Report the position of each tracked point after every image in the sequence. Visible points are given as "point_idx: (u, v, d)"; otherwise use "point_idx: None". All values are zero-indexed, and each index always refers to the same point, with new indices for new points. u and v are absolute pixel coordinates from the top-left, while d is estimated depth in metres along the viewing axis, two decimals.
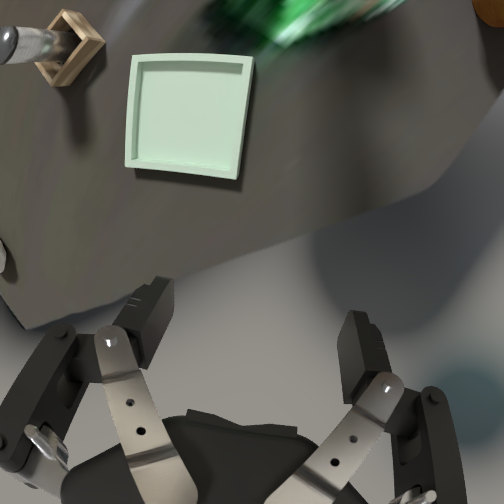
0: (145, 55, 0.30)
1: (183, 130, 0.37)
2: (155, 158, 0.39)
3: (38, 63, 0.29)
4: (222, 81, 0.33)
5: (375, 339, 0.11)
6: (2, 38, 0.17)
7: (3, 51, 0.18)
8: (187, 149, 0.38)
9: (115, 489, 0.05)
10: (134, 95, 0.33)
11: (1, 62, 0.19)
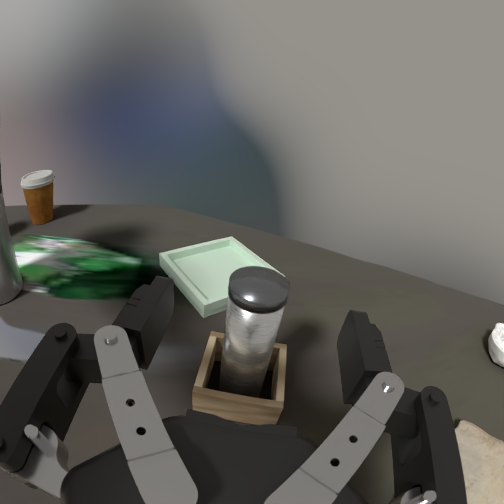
0: (198, 297, 0.43)
1: (231, 268, 0.54)
2: None
3: (280, 381, 0.30)
4: (185, 265, 0.53)
5: (375, 339, 0.11)
6: (248, 282, 0.25)
7: (260, 272, 0.27)
8: (240, 262, 0.56)
9: (115, 489, 0.05)
10: None
11: None
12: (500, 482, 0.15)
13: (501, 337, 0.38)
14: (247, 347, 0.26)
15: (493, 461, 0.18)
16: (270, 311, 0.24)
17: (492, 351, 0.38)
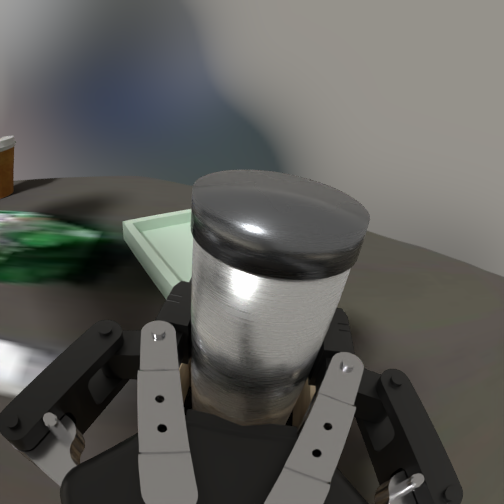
0: (167, 279, 0.27)
1: None
2: None
3: None
4: (157, 238, 0.36)
5: (340, 322, 0.12)
6: (251, 192, 0.08)
7: (282, 179, 0.10)
8: None
9: (115, 489, 0.05)
10: None
11: None
12: None
13: None
14: (248, 382, 0.09)
15: None
16: (324, 272, 0.07)
17: None
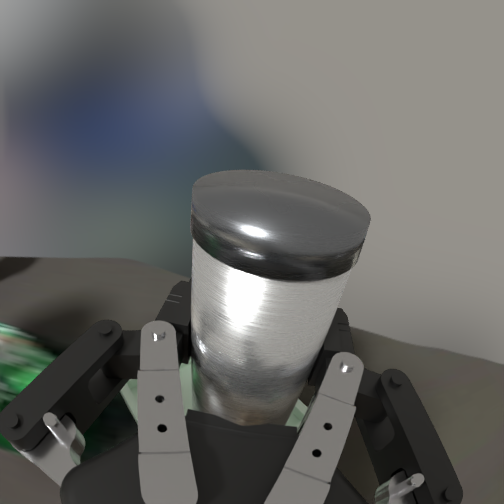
0: None
1: None
2: None
3: None
4: None
5: (340, 322, 0.12)
6: (252, 192, 0.08)
7: (282, 179, 0.10)
8: None
9: (115, 489, 0.05)
10: None
11: None
12: None
13: None
14: (248, 383, 0.09)
15: None
16: (324, 273, 0.07)
17: None
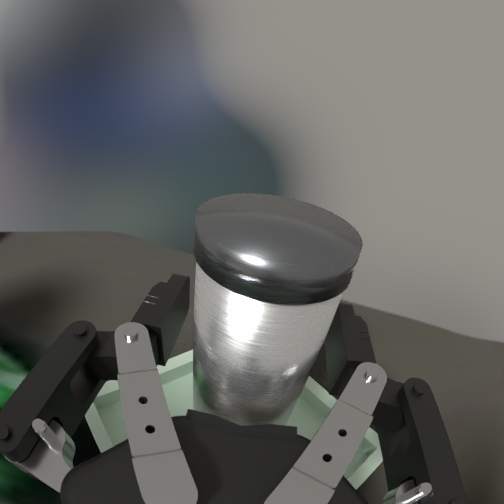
0: None
1: None
2: None
3: None
4: None
5: (360, 331, 0.12)
6: (251, 219, 0.09)
7: (280, 203, 0.11)
8: None
9: (115, 489, 0.05)
10: None
11: None
12: None
13: None
14: (247, 394, 0.10)
15: None
16: (317, 297, 0.08)
17: None
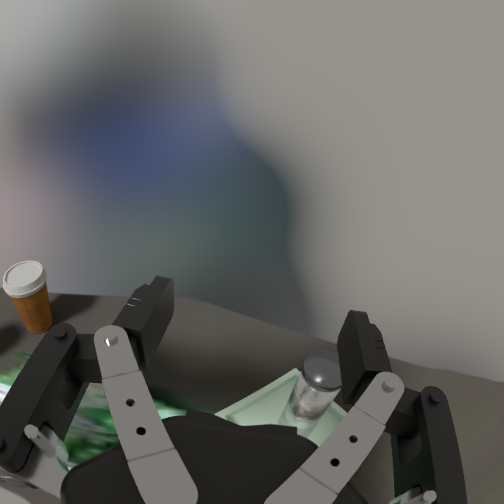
0: None
1: None
2: (339, 422, 0.39)
3: None
4: (248, 425, 0.38)
5: (375, 339, 0.11)
6: (320, 368, 0.29)
7: (326, 355, 0.31)
8: None
9: (115, 489, 0.05)
10: None
11: (335, 352, 0.31)
12: None
13: None
14: (313, 411, 0.30)
15: None
16: (337, 389, 0.28)
17: None
